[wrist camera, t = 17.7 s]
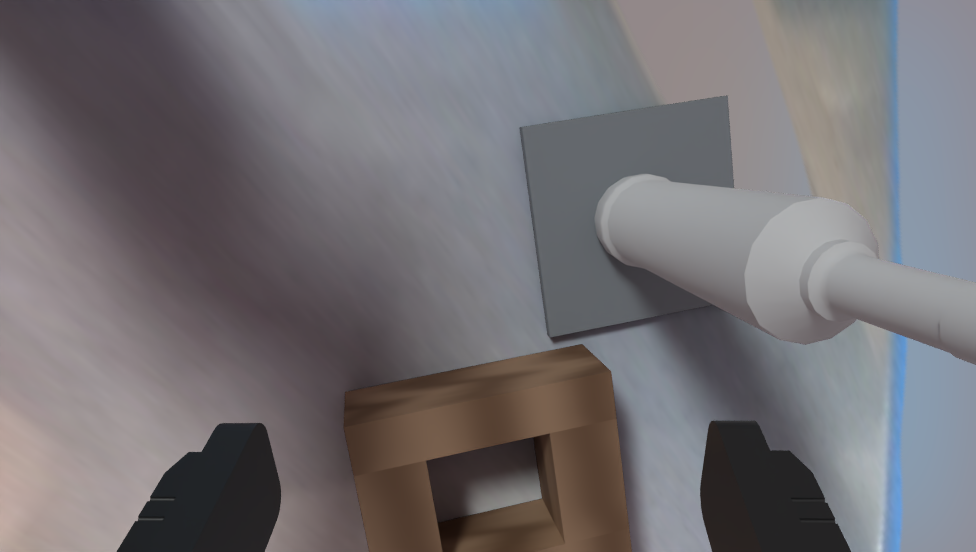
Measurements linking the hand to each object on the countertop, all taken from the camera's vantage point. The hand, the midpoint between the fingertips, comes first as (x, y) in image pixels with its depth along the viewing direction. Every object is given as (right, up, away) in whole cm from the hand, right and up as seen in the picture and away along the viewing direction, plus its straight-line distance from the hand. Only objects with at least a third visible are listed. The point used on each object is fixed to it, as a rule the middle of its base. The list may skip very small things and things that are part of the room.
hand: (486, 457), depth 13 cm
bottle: (+8, +7, +28) cm, 30 cm away
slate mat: (+9, +7, +28) cm, 30 cm away
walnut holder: (0, -8, +29) cm, 30 cm away
